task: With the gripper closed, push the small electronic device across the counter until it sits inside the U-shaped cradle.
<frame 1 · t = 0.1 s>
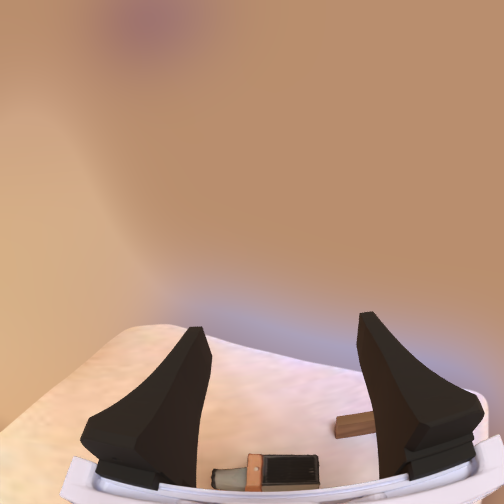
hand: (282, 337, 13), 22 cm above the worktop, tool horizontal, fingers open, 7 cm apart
electronic device: (268, 495, 22), on the worktop
cradle: (379, 482, 21), on the worktop
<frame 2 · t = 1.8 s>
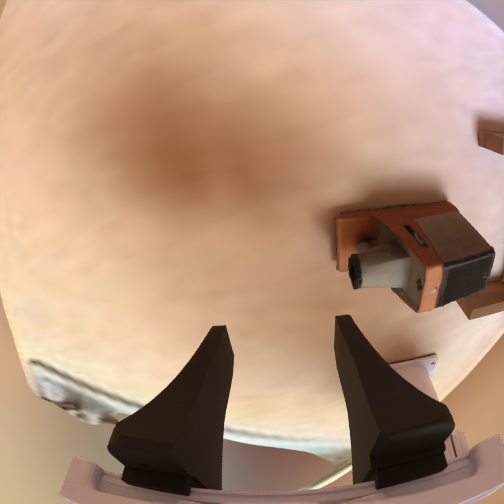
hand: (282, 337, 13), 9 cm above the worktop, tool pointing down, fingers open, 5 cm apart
electronic device: (392, 229, 21), on the worktop
cradle: (502, 221, 19), on the worktop
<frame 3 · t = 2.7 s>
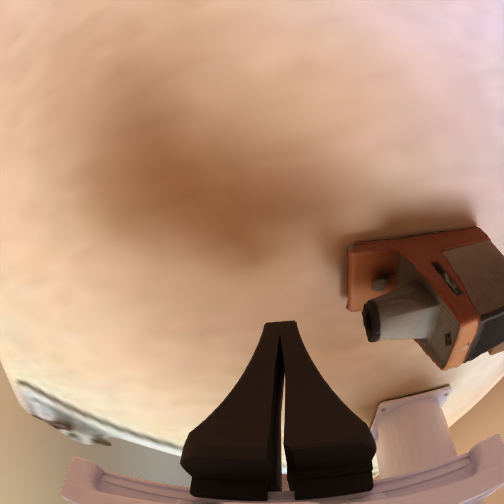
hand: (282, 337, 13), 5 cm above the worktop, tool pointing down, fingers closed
electronic device: (413, 260, 17), on the worktop
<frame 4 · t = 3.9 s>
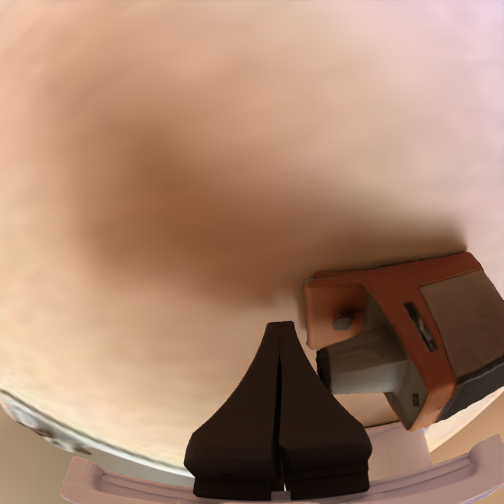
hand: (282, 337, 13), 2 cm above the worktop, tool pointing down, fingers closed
electronic device: (389, 290, 15), on the worktop, touching gripper
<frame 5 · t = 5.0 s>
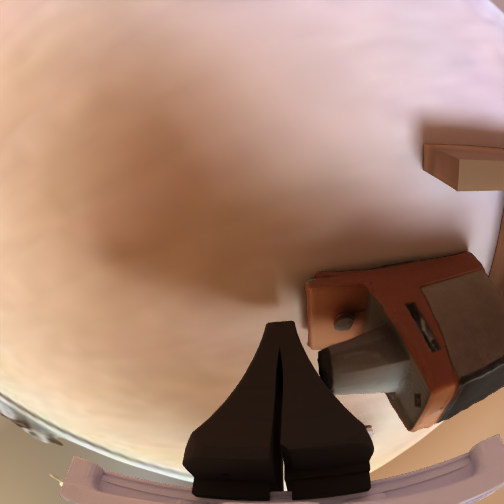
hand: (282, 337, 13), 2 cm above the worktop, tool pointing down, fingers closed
electronic device: (390, 290, 15), on the worktop, touching gripper
cradle: (466, 280, 14), on the worktop
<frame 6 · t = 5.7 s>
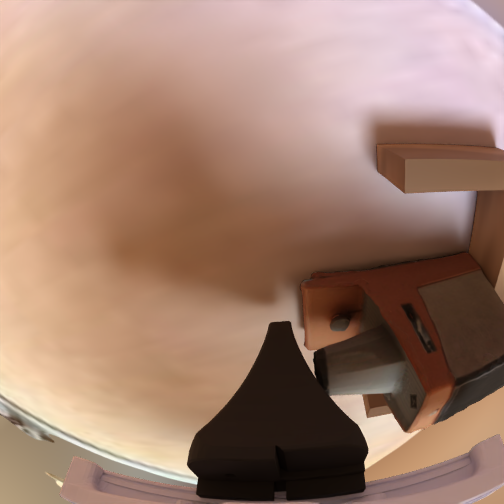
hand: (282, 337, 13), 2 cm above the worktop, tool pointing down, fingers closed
electronic device: (387, 291, 15), on the worktop, touching cradle, gripper
cradle: (435, 285, 14), on the worktop
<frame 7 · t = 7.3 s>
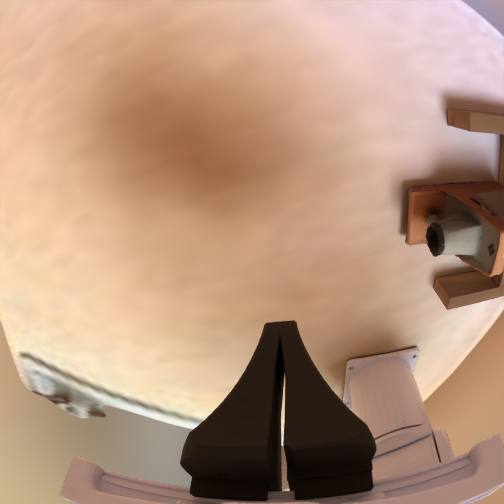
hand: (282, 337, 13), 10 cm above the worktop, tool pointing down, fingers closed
electronic device: (450, 206, 20), on the worktop
cradle: (481, 205, 19), on the worktop
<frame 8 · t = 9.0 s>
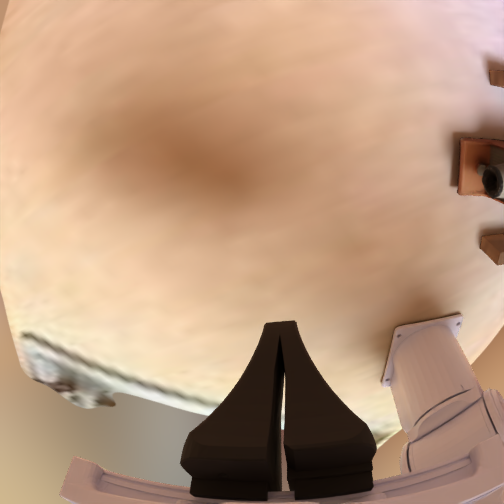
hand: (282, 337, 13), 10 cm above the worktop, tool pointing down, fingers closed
electronic device: (492, 163, 18), on the worktop
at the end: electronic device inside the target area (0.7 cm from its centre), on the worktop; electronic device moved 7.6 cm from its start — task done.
